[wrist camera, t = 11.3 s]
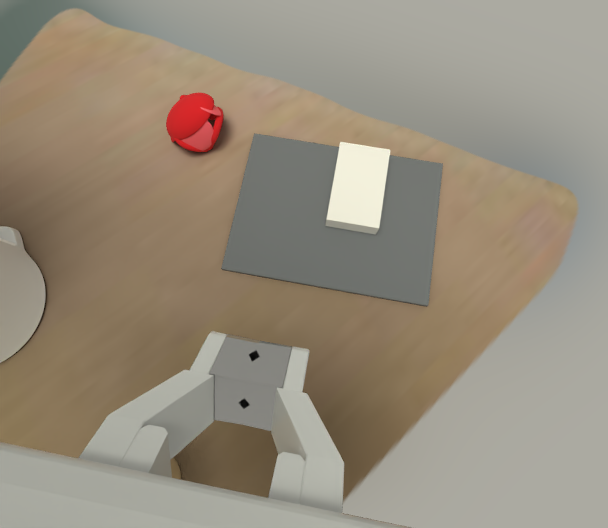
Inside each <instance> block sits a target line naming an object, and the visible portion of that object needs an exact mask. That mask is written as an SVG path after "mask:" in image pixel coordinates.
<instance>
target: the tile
mask: <svg viewBox="0 0 608 528" xmlns="http://www.w3.org/2000/svg"><path fill="white" fill-rule="evenodd" d="M389 156H390V150H388V149H382V148H376V147H370V146H363V145H357V144H351V143H345V142H340V146H339V152H338V158H337V163H336V169H335V174H334V180H333V185H332V191H331V197H330V202H329V208H328V213H327V219H326V226H328V227H334V228H340V229H346V230H352V231H357V232H363V233H369V234H375V235H376V233H377V231H378V230H379V226H380V219H381V212H382V205H383V198H384V191H385V184H386V177H387V170H388V163H389Z"/></svg>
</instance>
